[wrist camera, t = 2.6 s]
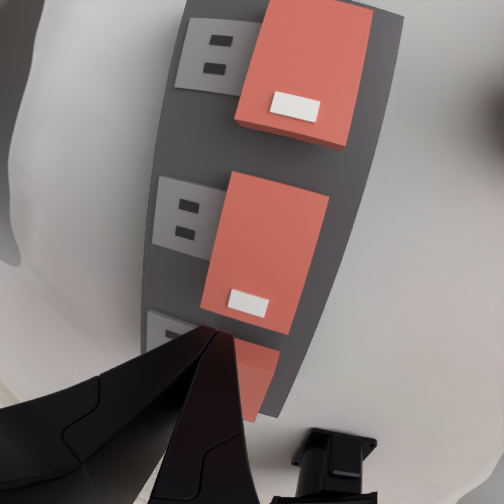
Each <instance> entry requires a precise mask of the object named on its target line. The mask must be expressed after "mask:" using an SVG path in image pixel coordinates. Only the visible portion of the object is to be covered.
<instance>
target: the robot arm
mask: <svg viewBox="0 0 504 504" xmlns="http://www.w3.org/2000/svg"><path fill="white" fill-rule="evenodd" d="M376 446H377V440H375V439H369V438H363V437H357V436H352V435H346V434H341V433H336V432H331V431H326V430H321V429H316V428H315V429H311V430H310V432H309V433H308V435H307V436H306V438H305V440H304V441H303V443H302V444H301V446H300V448H299V449H298V451H297V452H296V454H295V455H294V457H293V458H292V461H291V464H292V465H294V466H298V467H300V472H299V478H298V484H297V489H296V495H295V497H281V496H274V497H273V499H272V501H271V503H270V504H377V492H371V493H368V494H362V464H363V461H364V460H365V458H366V457H367V456H368V455H369V454H370V453H371V452H372V451H373V450H374V448H375V447H376ZM166 449H167V450H166ZM165 451H166V453H165ZM164 453H165V455H164V458H163V461H162V464H161V467H160V469H159V472H158V475H157V478H156V481H155V483H154V486H153V489H152V492H151V495H150V499H149V501H148V503H147V504H260V502H259V499H258V496H257V493H256V489H255V486H254V482H253V478H252V474H251V470H250V466H249V460H248V454H247V448H246V439H245V435H244V424H243V415H242V406H241V397H240V387H239V378H238V368H237V359H236V349H235V338H234V335H233V334H232V333H228V332H225V331H222V330H219V331H218V330H217V329H216V328H213V327H210V326H207V325H200V326H198V327H196V328H194V329H192V330H190V331H188V332H186V333H184V334H182V335H180V336H178V337H176V338H174V339H172V340H170V341H168V342H166V343H164V344H162V345H160V346H158V347H156V348H154V349H152V350H150V351H148V352H146V353H144V354H142V355H140V356H137V357H135V358H133V359H131V360H129V361H127V362H125V363H123V364H121V365H119V366H116V367H114V368H112V369H110V370H108V371H106V372H104V373H101V374H100V375H99V376H95V377H92V378H90V379H88V380H86V381H84V382H81V383H79V384H76V385H74V386H72V387H69V388H67V389H64V390H61V391H58V392H55V393H52V394H49V395H46V396H43V397H40V398H36V399H33V400H29V401H26V402H23V403H19V404H15V405H12V406H8V407H5V408H0V504H133V503H134V501H135V499H136V498H137V496H138V495H139V493H140V492H141V490H142V488H143V487H144V485H145V484H146V482H147V480H148V479H149V477H150V475H151V474H152V472H153V471H154V469H155V467H156V466H157V464H158V463H159V461H160V459H161V458H162V456H163V454H164Z"/></svg>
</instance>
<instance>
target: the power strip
mask: <svg viewBox="0 0 504 504" xmlns="http://www.w3.org/2000/svg"><path fill="white" fill-rule="evenodd" d="M335 1H340V2H344V3H348V4H352V5H356V6H360V7H363V8H367V9H370V10H373V16H372V21H371V27H370V33H369V38H368V44H367V49H366V54H365V60H364V65H363V70H362V75H361V79H360V84H359V89H358V94H357V98H356V103H355V107H354V112H353V116H352V121H351V125H350V129H349V134H348V138H347V142H346V146H345V148H344V149H343V150H342V152H341V151H337V150H334V149H330V148H327V147H323V146H320V145H316V144H312V143H309V142H305V141H301V140H297V139H293V138H289V137H285V136H281V135H276V134H272V133H268V132H263V131H259V130H254V129H250V128H245V127H242V126H241V125H240V124H239V123H238V122H237V121H236V120H235V119H234V118H235V114H236V111H237V107H238V103H239V100H240V96H241V93H242V89H243V86H244V82H245V79H246V76H247V72H248V69H249V65H250V62H251V59H252V55H253V52H254V49H255V46H256V42H257V39H258V36H259V33H260V29H261V26H262V23H263V20H264V17H265V14H266V11H267V8H268V5H269V2H270V0H187V2H186V5H185V9H184V13H183V16H182V20H181V24H180V28H179V32H178V36H177V40H176V44H175V48H174V52H173V57H172V61H171V66H170V70H169V75H168V80H167V85H166V90H165V95H164V100H163V105H162V111H161V117H160V122H159V128H158V135H157V141H156V147H155V154H154V161H153V169H152V176H151V185H150V193H149V202H148V212H147V222H146V233H145V246H144V260H143V278H142V301H141V355H142V354H144V353H146V352H148V351H150V350H152V349H154V348H156V347H158V346H160V345H162V344H164V343H166V342H168V341H170V340H172V339H174V338H176V337H178V336H180V335H182V334H184V333H186V332H188V331H190V330H192V329H194V328H196V327H198V326H200V325H207V326H210V327H213V328H216V329H217V330H218V331H219V330H222V331H225V332H228V333H232V334H233V335H234V338H237V339H240V340H243V341H247V342H250V343H253V344H256V345H260V346H263V347H266V348H270V349H273V350H277V351H280V354H279V358H278V361H277V365H276V369H275V372H274V375H273V378H272V380H271V382H270V385H269V387H268V390H267V392H266V395H265V397H264V400H263V402H262V404H261V407H260V409H259V411H258V413H261V414H264V415H268V416H271V417H275V418H278V416H279V414H280V412H281V410H282V408H283V405H284V403H285V401H286V399H287V397H288V394H289V392H290V390H291V388H292V385H293V383H294V381H295V378H296V376H297V374H298V372H299V369H300V367H301V364H302V362H303V360H304V357H305V355H306V353H307V350H308V348H309V345H310V343H311V340H312V338H313V335H314V333H315V330H316V328H317V325H318V323H319V320H320V318H321V315H322V312H323V310H324V307H325V304H326V302H327V299H328V296H329V294H330V291H331V288H332V286H333V283H334V280H335V277H336V274H337V272H338V269H339V266H340V263H341V260H342V257H343V254H344V251H345V249H346V246H347V243H348V240H349V237H350V233H351V230H352V227H353V224H354V221H355V218H356V215H357V212H358V208H359V205H360V202H361V199H362V195H363V192H364V188H365V185H366V182H367V178H368V175H369V171H370V168H371V164H372V160H373V157H374V153H375V149H376V146H377V142H378V138H379V134H380V130H381V126H382V122H383V118H384V114H385V110H386V105H387V101H388V97H389V92H390V88H391V83H392V79H393V74H394V69H395V64H396V59H397V54H398V49H399V43H400V38H401V32H402V26H403V20H404V17H403V16H401V15H398V14H395V13H392V12H389V11H385V10H382V9H379V8H376V7H372V6H369V5H365V4H362V3H358V2H354V1H351V0H335ZM232 171H234V172H238V173H242V174H246V175H250V176H254V177H258V178H262V179H266V180H270V181H274V182H278V183H282V184H285V185H289V186H293V187H297V188H300V189H304V190H307V191H311V192H315V193H318V194H322V195H325V196H328V197H329V201H328V204H327V208H326V212H325V215H324V219H323V222H322V226H321V230H320V233H319V237H318V240H317V243H316V247H315V250H314V254H313V257H312V260H311V264H310V267H309V270H308V274H307V277H306V280H305V284H304V287H303V290H302V293H301V296H300V300H299V303H298V306H297V309H296V312H295V315H294V318H293V321H292V324H291V327H290V330H289V333H288V335H287V334H283V333H280V332H277V331H273V330H270V329H266V328H263V327H260V326H256V325H253V324H250V323H247V322H243V321H240V320H237V319H234V318H231V317H227V316H224V315H221V314H218V313H215V312H212V311H209V310H206V309H203V308H200V305H201V301H202V296H203V292H204V287H205V283H206V278H207V274H208V269H209V265H210V260H211V256H212V252H213V248H214V243H215V239H216V235H217V231H218V226H219V222H220V218H221V214H222V210H223V206H224V202H225V198H226V194H227V190H228V186H229V182H230V178H231V174H232Z"/></svg>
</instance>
